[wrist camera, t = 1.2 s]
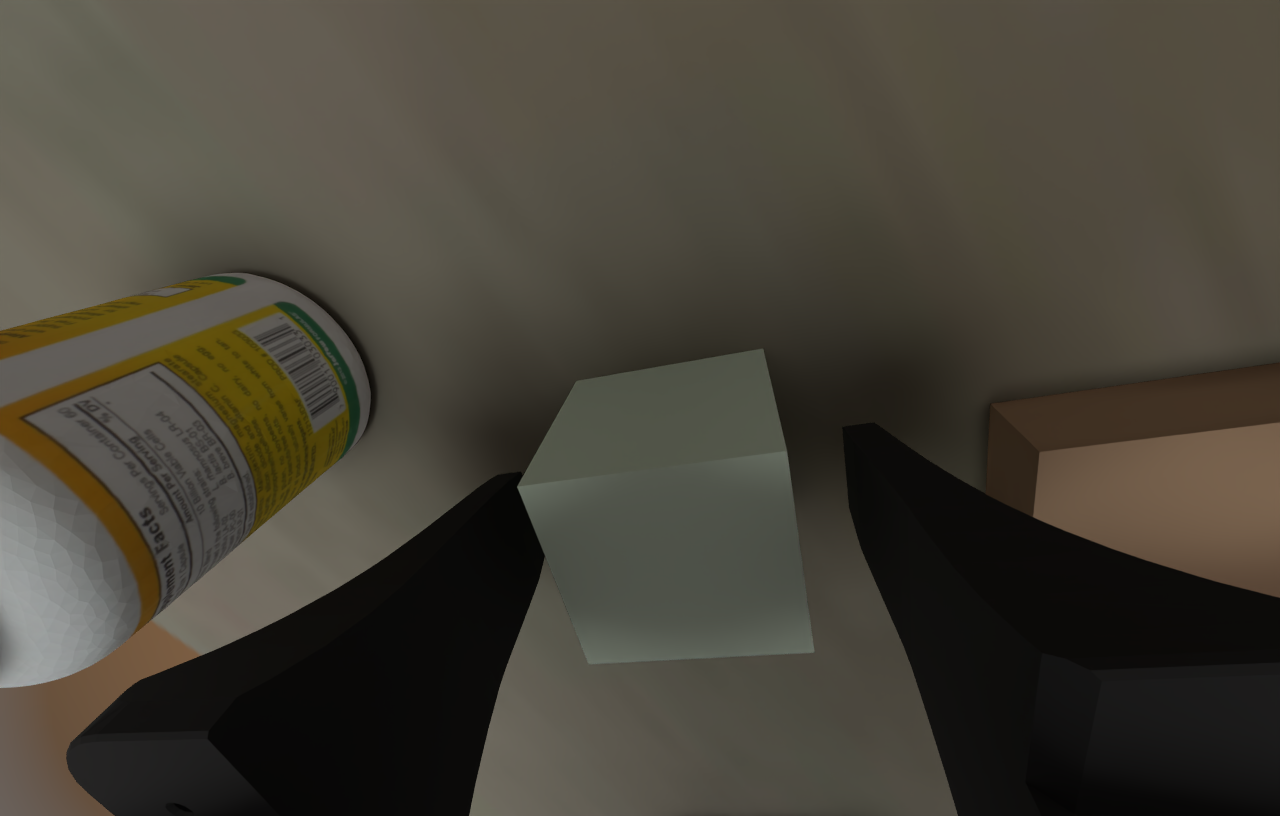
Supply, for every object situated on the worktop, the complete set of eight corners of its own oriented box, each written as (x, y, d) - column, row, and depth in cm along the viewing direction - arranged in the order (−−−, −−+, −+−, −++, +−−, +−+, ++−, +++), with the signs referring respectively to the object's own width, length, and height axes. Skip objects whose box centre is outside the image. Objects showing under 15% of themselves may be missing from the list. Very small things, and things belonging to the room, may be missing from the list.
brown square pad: (1372, 661, 14) (1491, 756, 12) (969, 678, 17) (1008, 762, 14) (1554, 310, 10) (1786, 360, 8) (981, 394, 12) (1040, 451, 10)
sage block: (785, 505, 14) (814, 652, 10) (622, 523, 15) (588, 664, 11) (762, 346, 12) (787, 451, 8) (576, 379, 13) (517, 487, 9)
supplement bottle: (400, 333, 13) (-195, 713, 4) (355, 486, 15) (-84, 917, 7) (184, 224, 12) (-977, 423, 4) (172, 402, 15) (-553, 761, 6)
